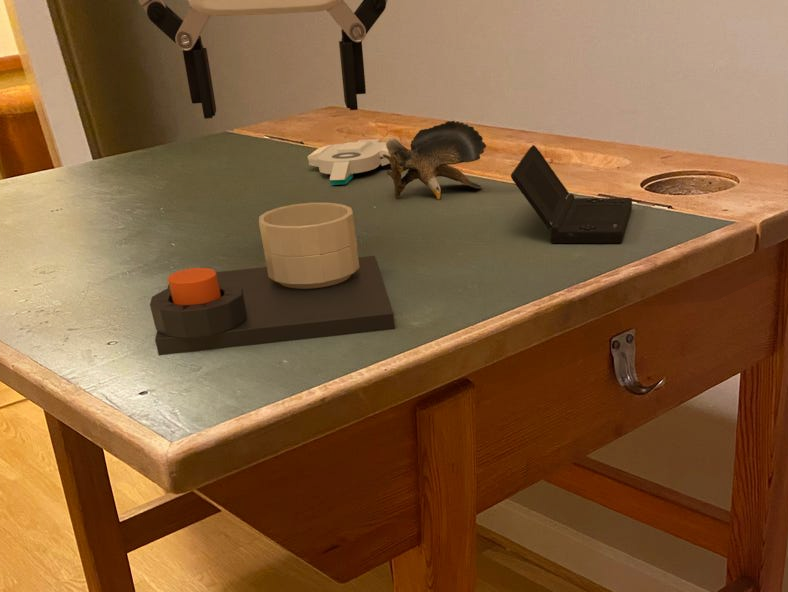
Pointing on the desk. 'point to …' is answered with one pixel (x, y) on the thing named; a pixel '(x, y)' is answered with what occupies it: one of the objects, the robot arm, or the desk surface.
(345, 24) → the robot arm
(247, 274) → the scale
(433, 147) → the triceratops head
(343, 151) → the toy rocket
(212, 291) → the button
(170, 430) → the desk surface
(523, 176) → the handheld gaming console
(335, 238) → the bowl
